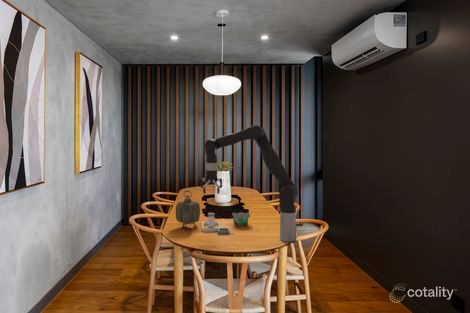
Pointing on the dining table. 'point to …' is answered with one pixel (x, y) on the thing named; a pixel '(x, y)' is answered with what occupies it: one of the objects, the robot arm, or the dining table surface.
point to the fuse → (210, 220)
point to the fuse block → (223, 231)
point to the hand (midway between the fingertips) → (211, 193)
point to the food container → (240, 219)
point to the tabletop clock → (187, 211)
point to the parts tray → (210, 228)
